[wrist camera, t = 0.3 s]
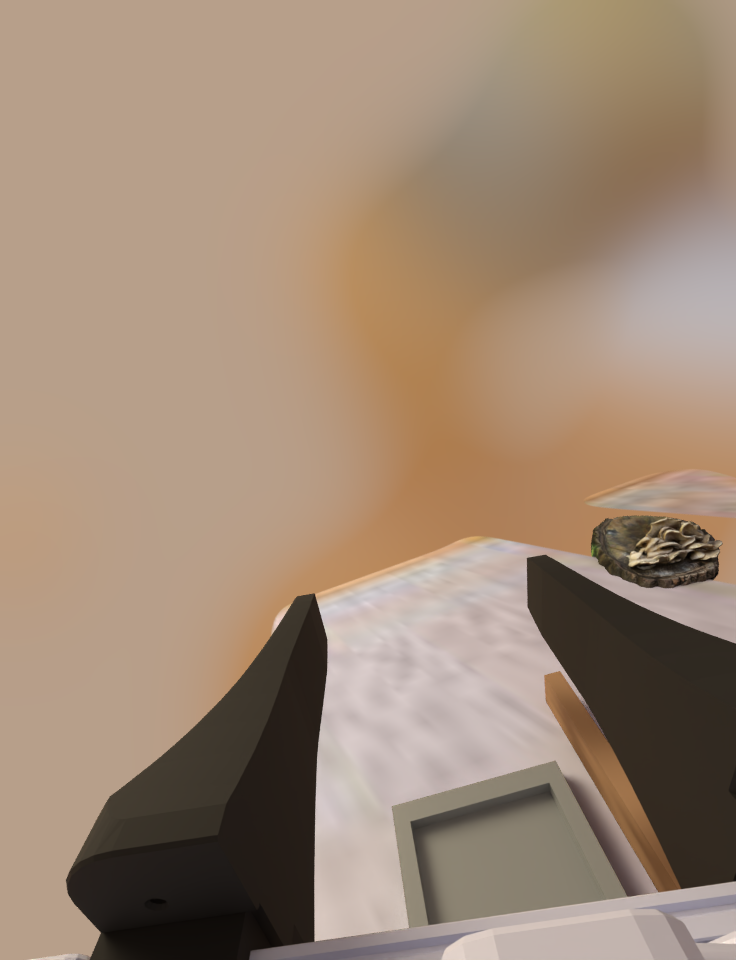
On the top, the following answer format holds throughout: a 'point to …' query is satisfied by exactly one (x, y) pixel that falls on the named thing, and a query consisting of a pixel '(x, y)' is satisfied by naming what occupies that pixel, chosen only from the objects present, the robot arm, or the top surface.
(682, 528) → the log
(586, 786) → the top surface
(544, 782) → the tray
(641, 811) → the wooden plank
